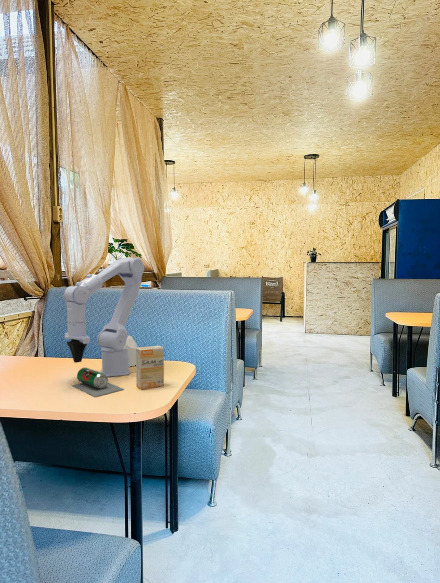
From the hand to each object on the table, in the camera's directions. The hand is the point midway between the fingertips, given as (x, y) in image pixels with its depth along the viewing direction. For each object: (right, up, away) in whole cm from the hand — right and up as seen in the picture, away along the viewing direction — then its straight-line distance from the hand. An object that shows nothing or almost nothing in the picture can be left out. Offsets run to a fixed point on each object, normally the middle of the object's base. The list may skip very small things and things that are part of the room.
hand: (77, 361), depth 134 cm
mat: (+8, -8, -4) cm, 12 cm away
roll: (+12, -6, +24) cm, 28 cm away
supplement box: (+25, -8, -3) cm, 26 cm away
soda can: (+1, -5, +1) cm, 5 cm away
